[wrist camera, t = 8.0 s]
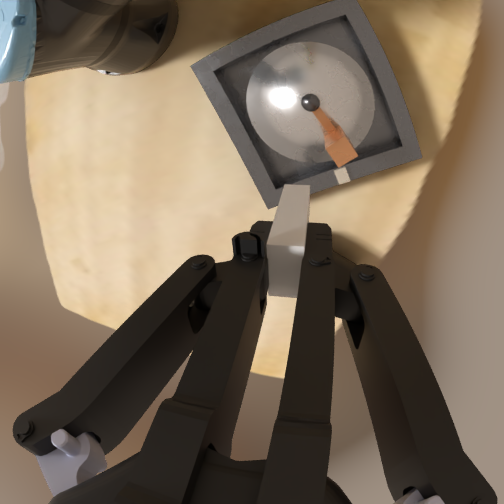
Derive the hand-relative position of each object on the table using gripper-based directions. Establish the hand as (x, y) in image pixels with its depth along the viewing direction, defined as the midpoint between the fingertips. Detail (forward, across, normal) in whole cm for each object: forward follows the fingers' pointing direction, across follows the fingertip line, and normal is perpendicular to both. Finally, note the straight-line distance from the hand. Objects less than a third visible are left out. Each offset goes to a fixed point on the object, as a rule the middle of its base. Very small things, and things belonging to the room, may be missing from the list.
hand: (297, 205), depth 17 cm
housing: (+20, 0, -5) cm, 21 cm away
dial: (+19, 0, -5) cm, 19 cm away
